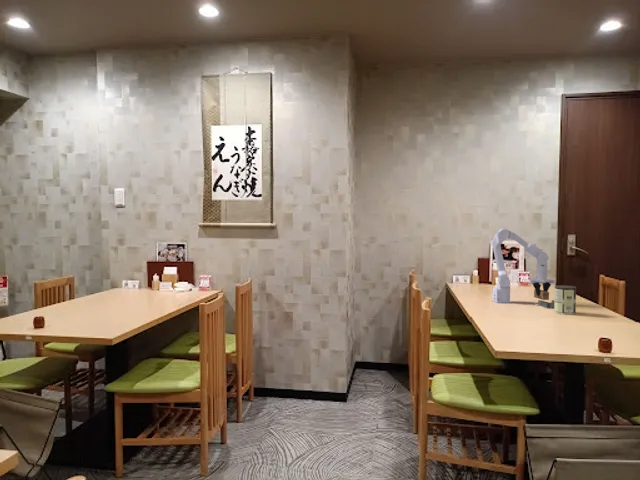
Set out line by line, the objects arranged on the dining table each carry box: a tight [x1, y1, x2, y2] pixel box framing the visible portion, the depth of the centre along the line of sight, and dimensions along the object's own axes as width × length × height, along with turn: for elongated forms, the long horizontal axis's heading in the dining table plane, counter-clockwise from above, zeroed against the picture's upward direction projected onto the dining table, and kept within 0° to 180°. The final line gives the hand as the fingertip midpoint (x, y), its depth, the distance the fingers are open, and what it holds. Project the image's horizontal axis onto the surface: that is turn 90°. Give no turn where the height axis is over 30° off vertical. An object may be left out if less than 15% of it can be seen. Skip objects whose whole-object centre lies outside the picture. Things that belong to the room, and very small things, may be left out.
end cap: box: [537, 299, 555, 309], centre depth 270 cm, size 9×9×3 cm
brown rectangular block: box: [533, 289, 550, 301], centre depth 279 cm, size 10×4×4 cm, turn 4°
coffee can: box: [553, 284, 577, 316], centre depth 252 cm, size 10×10×14 cm
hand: (541, 295), depth 279 cm, fingers closed on brown rectangular block, 3 cm apart
